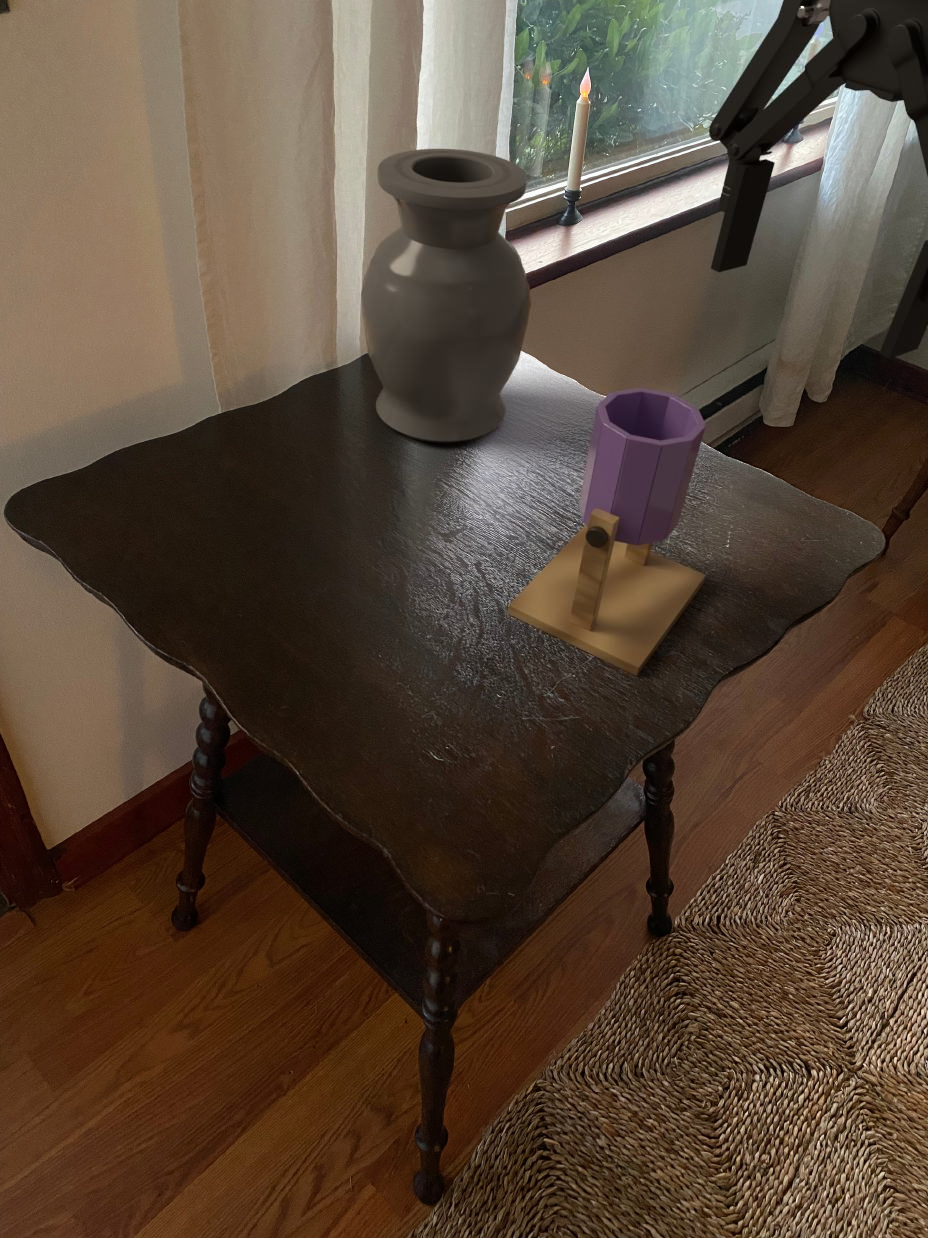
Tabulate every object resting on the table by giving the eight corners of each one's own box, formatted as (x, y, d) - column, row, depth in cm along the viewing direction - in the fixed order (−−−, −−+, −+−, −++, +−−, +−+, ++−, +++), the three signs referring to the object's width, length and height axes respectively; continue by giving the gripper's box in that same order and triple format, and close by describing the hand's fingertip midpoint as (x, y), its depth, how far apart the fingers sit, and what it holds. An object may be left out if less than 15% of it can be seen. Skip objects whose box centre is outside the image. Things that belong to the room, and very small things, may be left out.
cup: (693, 505, 73) (722, 407, 67) (647, 562, 67) (674, 460, 61) (610, 472, 75) (630, 374, 69) (559, 523, 70) (576, 422, 64)
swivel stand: (703, 583, 80) (740, 470, 71) (636, 676, 71) (670, 559, 63) (584, 532, 84) (606, 419, 76) (507, 613, 75) (522, 497, 67)
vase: (348, 383, 101) (341, 142, 84) (488, 369, 106) (509, 137, 88) (384, 464, 90) (384, 205, 73) (539, 445, 94) (574, 196, 77)
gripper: (706, -158, 48) (631, 246, 62) (1190, -96, 33) (945, 411, 48) (799, -154, 51) (707, 229, 65) (1275, -95, 37) (1022, 378, 51)
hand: (807, 306), depth 57 cm, fingers open, 13 cm apart
